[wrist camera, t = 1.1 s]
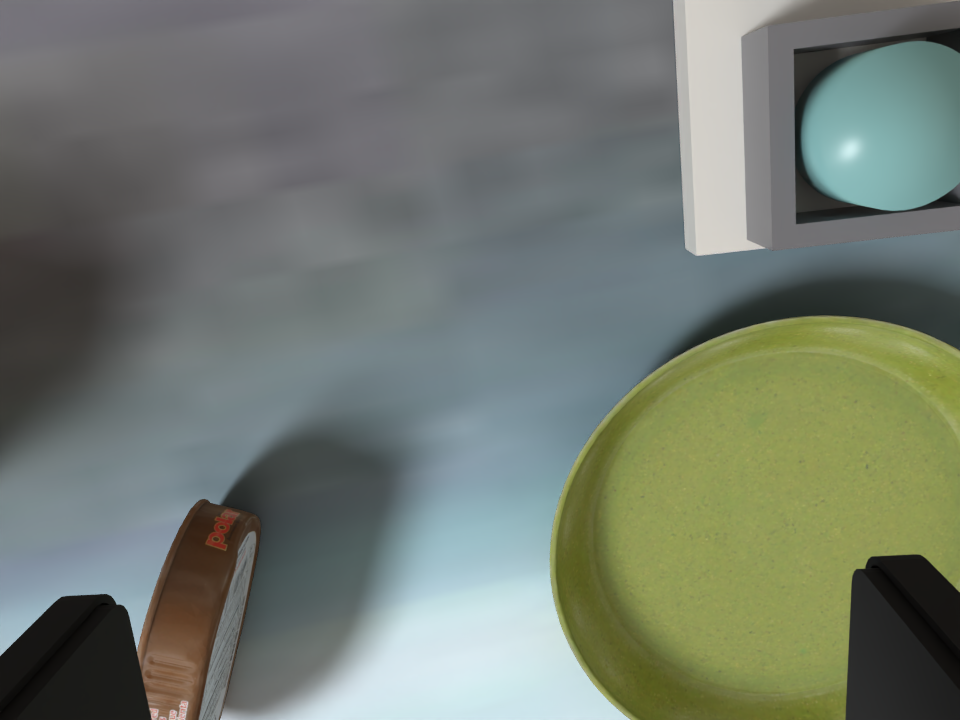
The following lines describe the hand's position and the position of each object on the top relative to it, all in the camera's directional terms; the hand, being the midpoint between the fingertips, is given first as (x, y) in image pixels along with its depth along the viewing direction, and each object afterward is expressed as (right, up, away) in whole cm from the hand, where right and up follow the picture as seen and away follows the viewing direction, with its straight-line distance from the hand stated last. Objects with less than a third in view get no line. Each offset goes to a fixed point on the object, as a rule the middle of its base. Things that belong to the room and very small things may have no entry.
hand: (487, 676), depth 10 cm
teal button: (+13, +12, +17) cm, 25 cm away
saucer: (+13, -3, +26) cm, 29 cm away
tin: (-12, -8, +28) cm, 31 cm away
